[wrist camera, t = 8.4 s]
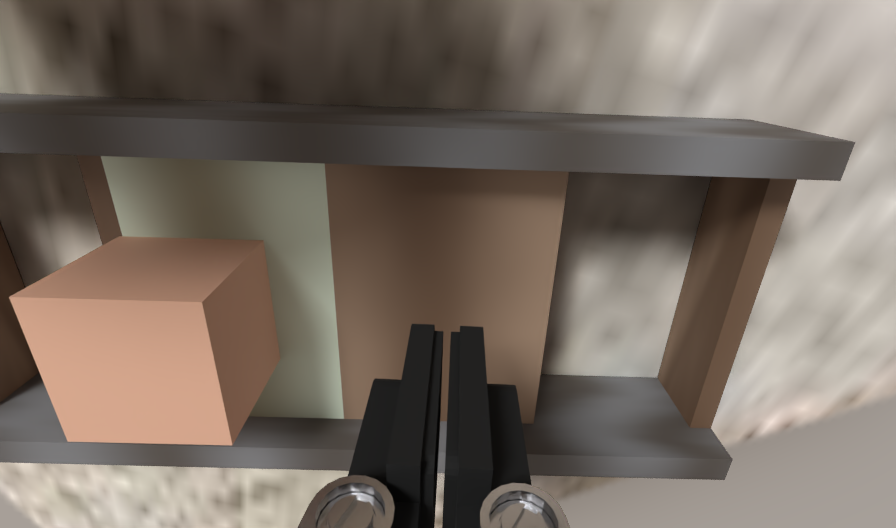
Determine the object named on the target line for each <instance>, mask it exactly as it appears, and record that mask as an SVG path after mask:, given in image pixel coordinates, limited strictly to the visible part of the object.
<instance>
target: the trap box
mask: <svg viewBox="0 0 896 528" xmlns="http://www.w3.org/2000/svg"><path fill="white" fill-rule="evenodd" d="M854 144H855V142H852V141H847V140H843V139H838V138H833V137H829V136H824V135H819V134H815V133H810V132H805V131H801V130H796V129H791V128H787V127H782V126H777V125H773V124H768V123H763V122H759V121H754V120H742V119H713V118H685V117H656V116H628V115H599V114H571V113H542V112H514V111H485V110H457V109H428V108H400V107H371V106H343V105H314V104H286V103H257V102H229V101H200V100H172V99H143V98H115V97H86V96H58V95H29V94H1V93H0V153H25V154H55V155H76V156H77V159H78V163H79V166H80V169H81V173H82V176H83V180H84V183H85V186H86V190H87V193H88V197H89V200H90V203H91V207H92V210H93V214H94V217H95V221H96V224H97V227H98V231H99V234H100V238H101V241H102V244H103V245H104V244H106V243H108V242H110V241H111V240H113V239H115V238H117V237H119V236H128V237H163V238H198V239H233V240H263V241H264V248H265V255H266V262H267V269H268V276H269V283H270V290H271V297H272V304H273V311H274V318H275V325H276V332H277V339H278V346H279V353H280V360H279V362H278V364H277V366H276V368H275V369H274V371H273V373H272V375H271V377H270V378H269V380H268V382H267V384H266V386H265V387H264V389H263V391H262V393H261V395H260V396H259V398H258V400H257V402H256V404H255V406H254V407H253V409H252V411H251V413H250V415H249V416H248V418H247V420H246V422H245V424H244V425H243V427H242V429H241V431H240V433H239V435H238V436H237V438H236V440H235V442H234V444H233V445H193V444H150V443H106V442H68V441H67V439H66V436H65V434H64V431H63V429H62V427H61V424H60V422H59V419H58V417H57V414H56V412H55V409H54V407H53V404H52V402H51V399H50V397H49V395H48V392H47V390H46V387H45V385H44V382H43V380H42V377H41V375H40V372H39V370H38V367H37V365H36V363H35V360H34V358H33V355H32V353H31V350H30V348H29V345H28V343H27V340H26V338H25V335H24V333H23V331H22V328H21V326H20V323H19V321H18V318H17V316H16V313H15V311H14V308H13V306H12V303H11V301H10V299H9V297H10V296H12V295H13V294H15V293H17V292H19V291H21V290H22V289H24V288H25V287H24V284H23V282H22V279H21V277H20V274H19V271H18V269H17V266H16V264H15V261H14V258H13V256H12V253H11V250H10V248H9V245H8V243H7V240H6V237H5V235H4V232H3V230H2V227H1V224H0V462H13V463H54V464H95V465H136V466H177V467H218V468H259V469H300V470H341V471H349V470H350V466H351V463H352V459H353V455H354V451H355V447H356V444H357V440H358V436H359V432H360V428H361V425H362V421H363V417H364V413H365V409H366V406H367V402H368V398H369V394H370V390H371V387H372V383H373V380H374V379H375V378H376V379H398V380H401V379H402V373H403V368H404V362H405V357H406V351H407V346H408V340H409V335H410V329H411V324H432V325H435V331H443V360H442V389H441V418H440V438H439V454H438V471H437V473H445V456H446V433H447V409H448V386H449V363H450V339H451V332H460V326H477V327H483V331H484V345H485V360H486V374H487V384H507V385H515V386H516V389H517V394H518V401H519V407H520V414H521V421H522V427H523V434H524V440H525V447H526V453H527V460H528V466H529V473H530V475H547V476H588V477H629V478H671V479H711V480H712V479H713V480H725V477H726V475H727V472H728V470H729V467H730V465H731V462H732V458H731V457H730V455H729V454H728V452H727V451H726V450H725V448H724V447H723V445H722V444H721V442H720V441H719V440H718V438H717V437H716V435H715V434H714V432H713V431H712V430H711V426H712V423H713V420H714V417H715V414H716V411H717V408H718V405H719V403H720V400H721V397H722V394H723V391H724V388H725V385H726V382H727V380H728V377H729V374H730V371H731V368H732V365H733V362H734V359H735V357H736V354H737V351H738V348H739V345H740V342H741V339H742V336H743V334H744V331H745V328H746V325H747V322H748V319H749V316H750V313H751V311H752V308H753V305H754V302H755V299H756V296H757V293H758V290H759V288H760V285H761V282H762V279H763V276H764V273H765V270H766V267H767V265H768V262H769V259H770V256H771V253H772V250H773V247H774V244H775V241H776V239H777V236H778V233H779V230H780V227H781V224H782V221H783V218H784V216H785V213H786V210H787V207H788V204H789V201H790V198H791V195H792V193H793V190H794V187H795V184H796V181H797V179H804V180H834V181H840V180H841V178H842V175H843V173H844V170H845V167H846V165H847V162H848V160H849V157H850V154H851V152H852V149H853V147H854ZM569 172H594V173H624V174H654V175H684V176H712V178H711V182H710V186H709V189H708V193H707V197H706V201H705V204H704V208H703V212H702V215H701V219H700V223H699V226H698V230H697V234H696V238H695V241H694V245H693V249H692V252H691V256H690V260H689V263H688V267H687V271H686V275H685V278H684V282H683V286H682V289H681V293H680V297H679V300H678V304H677V308H676V311H675V315H674V319H673V323H672V326H671V330H670V334H669V337H668V341H667V345H666V348H665V352H664V356H663V360H662V363H661V367H660V371H659V374H658V378H641V377H604V376H567V375H540V374H541V367H542V360H543V353H544V346H545V339H546V332H547V325H548V318H549V311H550V304H551V297H552V290H553V283H554V276H555V269H556V262H557V254H558V247H559V240H560V233H561V226H562V219H563V212H564V205H565V198H566V191H567V184H568V177H569Z"/></svg>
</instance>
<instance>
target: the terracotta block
mask: <svg viewBox="0 0 896 528" xmlns="http://www.w3.org/2000/svg"><path fill="white" fill-rule="evenodd" d="M9 299H10V301H11V303H12V306H13V308H14V311H15V313H16V316H17V318H18V321H19V323H20V326H21V328H22V331H23V333H24V335H25V338H26V340H27V343H28V345H29V348H30V350H31V353H32V355H33V358H34V360H35V363H36V365H37V367H38V370H39V372H40V375H41V377H42V380H43V382H44V385H45V387H46V390H47V392H48V395H49V397H50V399H51V402H52V404H53V407H54V409H55V412H56V414H57V417H58V419H59V422H60V424H61V427H62V429H63V431H64V434H65V436H66V439H67V441H68V442H106V443H150V444H193V445H233V444H234V442H235V440H236V438H237V436H238V435H239V433H240V431H241V429H242V427H243V425H244V424H245V422H246V420H247V418H248V416H249V415H250V413H251V411H252V409H253V407H254V406H255V404H256V402H257V400H258V398H259V396H260V395H261V393H262V391H263V389H264V387H265V386H266V384H267V382H268V380H269V378H270V377H271V375H272V373H273V371H274V369H275V368H276V366H277V364H278V362H279V360H280V353H279V346H278V339H277V332H276V325H275V318H274V311H273V304H272V297H271V290H270V283H269V276H268V269H267V262H266V255H265V248H264V241H263V240H233V239H198V238H163V237H128V236H119V237H117V238H115V239H113V240H111V241H110V242H108V243H106V244H104V245H102V246H101V247H99V248H97V249H95V250H93V251H91V252H90V253H88V254H86V255H84V256H82V257H81V258H79V259H77V260H75V261H73V262H71V263H70V264H68V265H66V266H64V267H62V268H61V269H59V270H57V271H55V272H53V273H52V274H50V275H48V276H46V277H44V278H42V279H41V280H39V281H37V282H35V283H33V284H32V285H30V286H28V287H26V288H24V289H22V290H21V291H19V292H17V293H15V294H13V295H12V296H10V297H9Z"/></svg>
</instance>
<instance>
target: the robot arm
mask: <svg viewBox="0 0 896 528" xmlns="http://www.w3.org/2000/svg"><path fill="white" fill-rule="evenodd" d="M442 360H443V331H435V325H432V324H411V329H410V335H409V340H408V346H407V351H406V357H405V362H404V368H403V373H402V379H401V380H398V379H376V378H375V379H374V380H373V383H372V387H371V390H370V394H369V398H368V402H367V406H366V409H365V413H364V417H363V421H362V425H361V428H360V432H359V436H358V440H357V444H356V447H355V451H354V455H353V459H352V463H351V466H350V470H349V474H348V476H347V477H342V478H339V479H337V480H335V481H333V482H331V483H329V484H327V485H326V486H325V487H324V488H322V489H321V490H320V491H319V492H318V493H317V494H316V495H315V497H314V498H313V500H312V501H311V503H310V504H309V506H308V508H307V510H306V512H305V514H304V516H303V518H302V520H301V522H300V524H299V526H298V528H434V522H435V505H436V488H437V471H438V454H439V438H440V418H441V389H442ZM442 528H570V526H569V524H568V521H567V518H566V516H565V514H564V512H563V510H562V508H561V507H560V505H559V504H558V503H557V502H556V501H555V500H554V499H553V498H552V497H551V495H549V494H548V493H546V492H545V491H543V490H541V489H540V488H538V487H535V486H532V485H531V480H530V473H529V466H528V460H527V453H526V447H525V440H524V434H523V427H522V421H521V414H520V407H519V401H518V394H517V389H516V386H515V385H507V384H487V374H486V360H485V345H484V331H483V327H477V326H460V332H451V339H450V363H449V386H448V409H447V433H446V456H445V480H444V503H443V527H442Z"/></svg>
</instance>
